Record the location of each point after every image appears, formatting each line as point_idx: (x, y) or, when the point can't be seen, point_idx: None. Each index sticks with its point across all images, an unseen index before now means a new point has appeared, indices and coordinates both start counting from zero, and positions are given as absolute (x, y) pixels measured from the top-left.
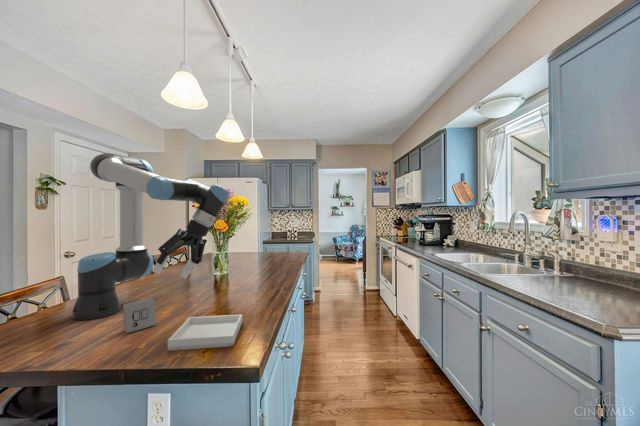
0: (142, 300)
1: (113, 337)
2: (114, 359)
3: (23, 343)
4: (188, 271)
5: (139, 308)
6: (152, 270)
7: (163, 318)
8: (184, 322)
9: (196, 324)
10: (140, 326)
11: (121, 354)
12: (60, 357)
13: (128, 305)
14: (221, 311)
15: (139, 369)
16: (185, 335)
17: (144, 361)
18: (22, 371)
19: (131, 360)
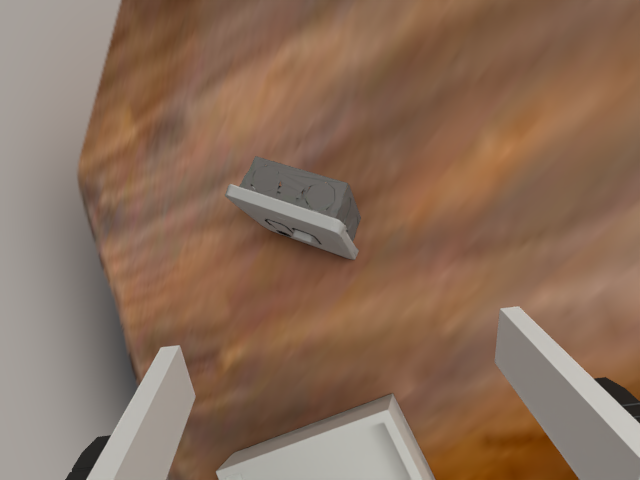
0: (295, 208)
1: (239, 215)
2: None
3: (142, 15)
4: (535, 416)
5: (284, 222)
6: (159, 353)
7: (421, 220)
8: (335, 428)
9: (387, 438)
10: (302, 241)
11: (184, 344)
12: (134, 211)
13: (240, 201)
14: None
15: None
16: (299, 459)
17: None
18: (84, 207)
19: None
